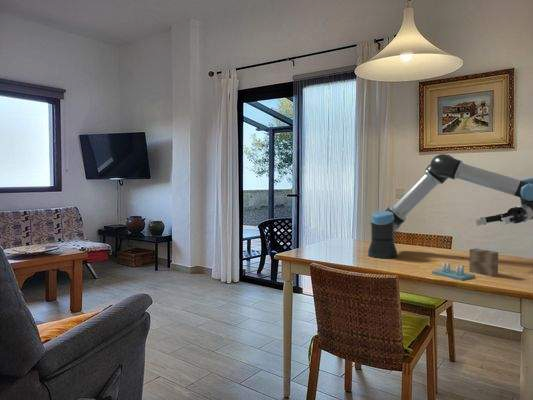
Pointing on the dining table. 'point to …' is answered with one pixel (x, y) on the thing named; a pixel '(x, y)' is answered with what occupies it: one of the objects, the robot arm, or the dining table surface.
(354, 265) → the dining table surface
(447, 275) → the peg stand
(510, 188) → the robot arm
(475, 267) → the brown boxy piece
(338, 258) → the dining table surface
